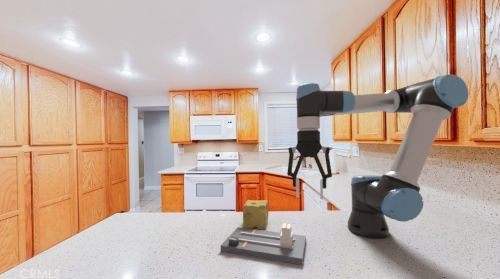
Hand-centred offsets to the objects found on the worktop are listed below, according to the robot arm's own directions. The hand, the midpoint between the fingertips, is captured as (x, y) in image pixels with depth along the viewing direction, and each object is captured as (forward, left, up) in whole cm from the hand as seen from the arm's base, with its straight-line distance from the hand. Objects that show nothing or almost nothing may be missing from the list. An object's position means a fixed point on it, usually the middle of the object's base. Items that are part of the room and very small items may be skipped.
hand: (309, 197), depth 72 cm
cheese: (+25, -18, -19) cm, 36 cm away
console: (+16, 0, -19) cm, 25 cm away
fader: (+8, 0, -17) cm, 19 cm away
